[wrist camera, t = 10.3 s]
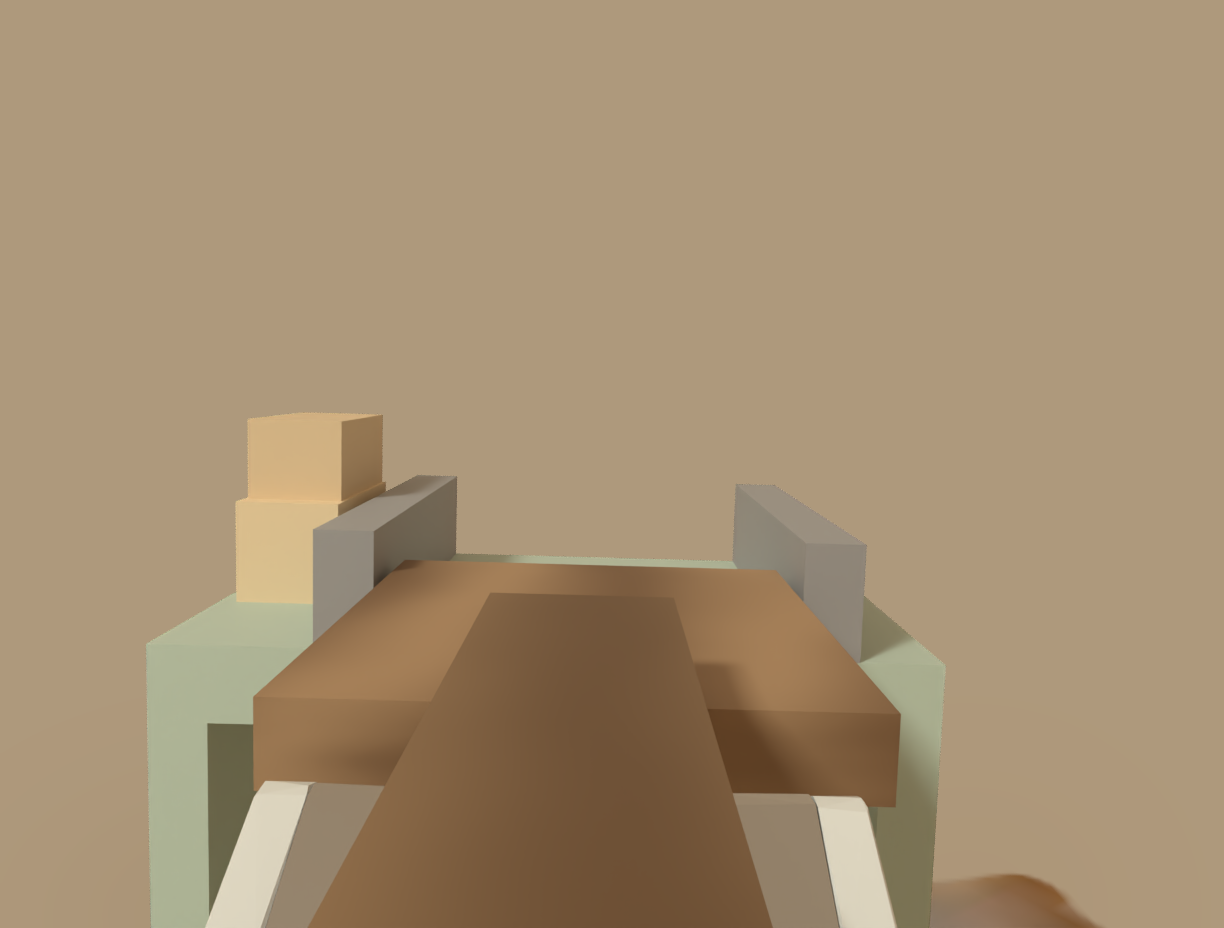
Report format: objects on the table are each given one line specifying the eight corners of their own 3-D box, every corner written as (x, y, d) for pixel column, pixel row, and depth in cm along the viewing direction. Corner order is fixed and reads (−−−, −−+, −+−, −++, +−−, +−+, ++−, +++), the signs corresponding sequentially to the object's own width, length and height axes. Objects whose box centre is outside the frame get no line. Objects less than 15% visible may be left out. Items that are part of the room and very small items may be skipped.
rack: (161, 1570, 26) (142, 427, 23) (309, 1174, 39) (309, 409, 36) (887, 1585, 26) (959, 450, 23) (795, 1185, 39) (833, 424, 36)
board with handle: (-379, 1530, 5) (-418, 1023, 5) (404, 614, 26) (405, 504, 25) (1403, 1567, 5) (1462, 1068, 5) (773, 624, 26) (778, 515, 26)
